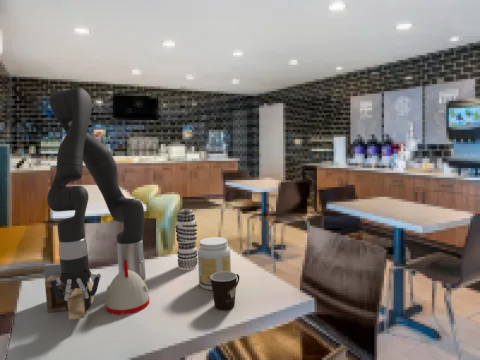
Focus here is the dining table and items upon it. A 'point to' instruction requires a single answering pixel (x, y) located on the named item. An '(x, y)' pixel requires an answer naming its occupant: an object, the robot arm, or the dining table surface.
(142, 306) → the cream dome
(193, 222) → the decorative candle
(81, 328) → the dining table surface
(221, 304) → the coffee mug
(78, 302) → the tan wooden bar
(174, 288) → the dining table surface
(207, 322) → the dining table surface
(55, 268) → the wall
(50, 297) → the block
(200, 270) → the supplement tub
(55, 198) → the robot arm
